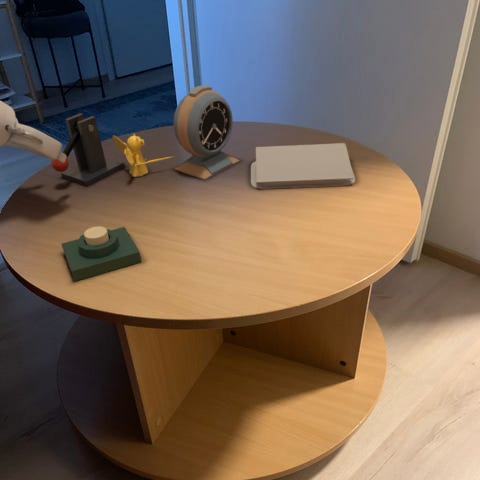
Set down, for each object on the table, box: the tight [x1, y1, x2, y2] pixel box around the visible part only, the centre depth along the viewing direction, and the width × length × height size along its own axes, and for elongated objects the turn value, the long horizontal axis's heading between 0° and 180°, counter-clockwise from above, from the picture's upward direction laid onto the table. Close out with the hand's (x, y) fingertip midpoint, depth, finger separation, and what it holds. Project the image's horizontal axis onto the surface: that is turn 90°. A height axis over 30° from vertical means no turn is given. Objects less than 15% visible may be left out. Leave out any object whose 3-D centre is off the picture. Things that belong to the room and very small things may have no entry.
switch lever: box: [51, 117, 86, 173], centre depth 113 cm, size 13×4×4 cm
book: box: [250, 142, 356, 190], centre depth 113 cm, size 15×23×4 cm, turn 89°
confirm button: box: [83, 226, 109, 246], centre depth 89 cm, size 4×4×2 cm
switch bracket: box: [60, 112, 126, 187], centre depth 117 cm, size 12×9×13 cm
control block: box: [61, 226, 143, 282], centre depth 91 cm, size 12×10×4 cm
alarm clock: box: [173, 85, 241, 181], centre depth 115 cm, size 14×10×18 cm
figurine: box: [111, 132, 175, 178], centre depth 117 cm, size 12×12×9 cm
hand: (49, 154), depth 109 cm, fingers open, 8 cm apart
